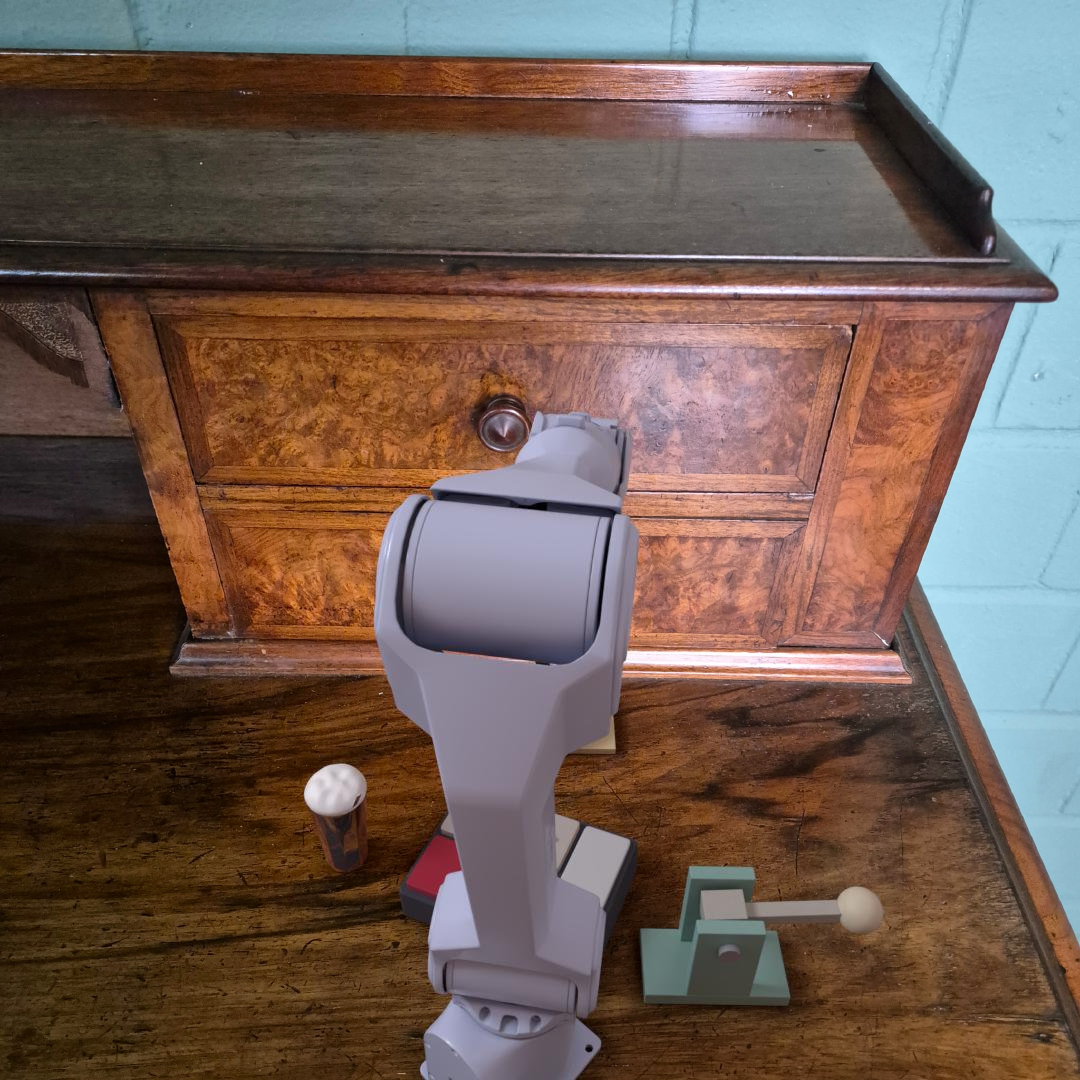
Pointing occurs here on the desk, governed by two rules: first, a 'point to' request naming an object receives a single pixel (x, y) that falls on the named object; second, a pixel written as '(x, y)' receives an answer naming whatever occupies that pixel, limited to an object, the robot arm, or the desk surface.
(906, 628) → the desk surface
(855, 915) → the lever
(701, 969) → the bracket
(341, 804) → the milkshake
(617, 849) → the calculator
